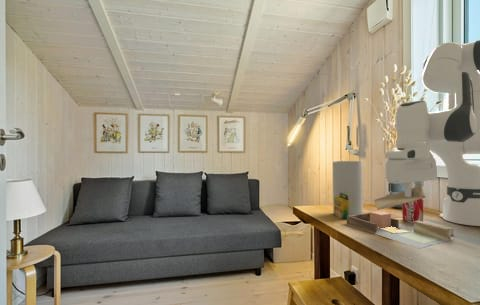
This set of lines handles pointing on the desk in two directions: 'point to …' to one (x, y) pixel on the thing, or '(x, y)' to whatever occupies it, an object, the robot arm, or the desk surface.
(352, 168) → the cylinder vase
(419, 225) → the plain stick
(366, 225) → the cubby
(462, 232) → the desk surface
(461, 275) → the desk surface
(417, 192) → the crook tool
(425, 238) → the board
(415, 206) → the soda can
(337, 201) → the crayon box
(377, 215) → the cube
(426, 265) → the desk surface
